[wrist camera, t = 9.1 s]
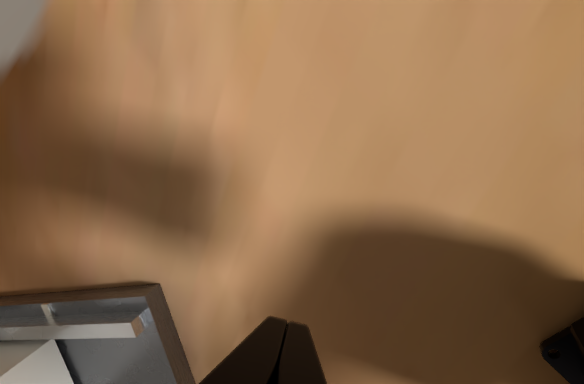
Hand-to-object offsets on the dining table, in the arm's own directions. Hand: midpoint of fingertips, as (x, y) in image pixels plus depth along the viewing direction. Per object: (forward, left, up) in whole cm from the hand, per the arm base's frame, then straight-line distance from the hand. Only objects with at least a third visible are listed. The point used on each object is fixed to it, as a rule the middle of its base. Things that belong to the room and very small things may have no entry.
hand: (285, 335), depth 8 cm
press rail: (+5, +25, -12) cm, 28 cm away
